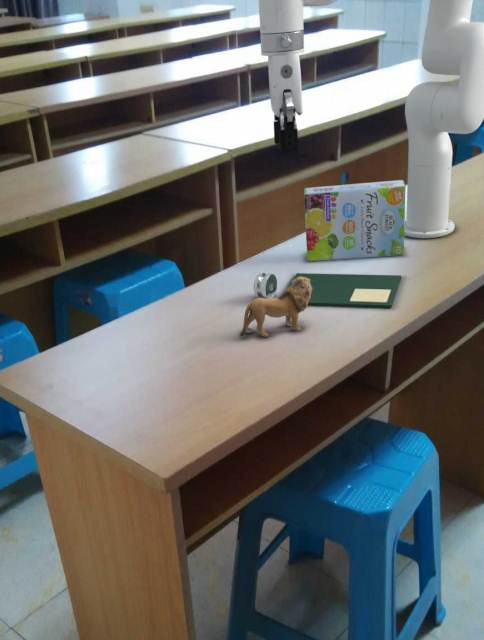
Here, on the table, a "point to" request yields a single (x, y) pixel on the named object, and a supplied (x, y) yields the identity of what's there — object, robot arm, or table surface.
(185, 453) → the table surface
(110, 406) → the table surface
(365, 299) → the desk mat
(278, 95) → the robot arm
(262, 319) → the lion figurine
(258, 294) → the grooved metal pulley
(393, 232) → the snack box
